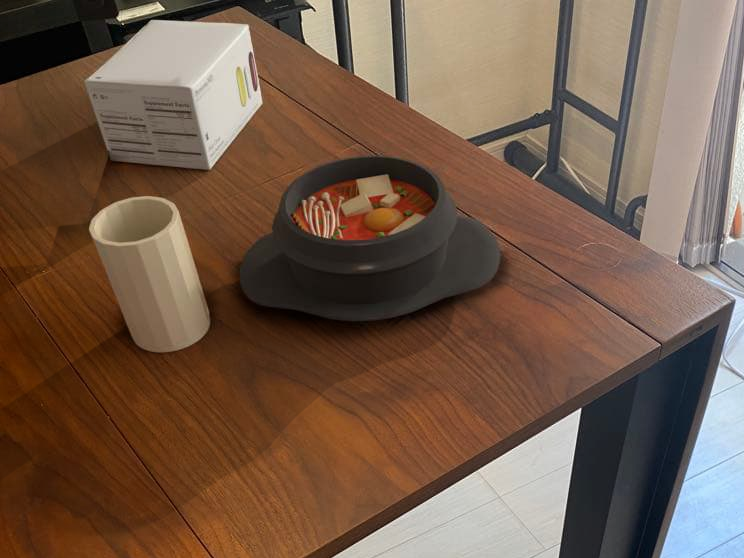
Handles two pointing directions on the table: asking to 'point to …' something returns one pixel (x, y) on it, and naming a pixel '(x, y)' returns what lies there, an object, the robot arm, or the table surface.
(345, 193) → the casserole
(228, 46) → the supplement box
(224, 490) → the table surface
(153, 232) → the cup
